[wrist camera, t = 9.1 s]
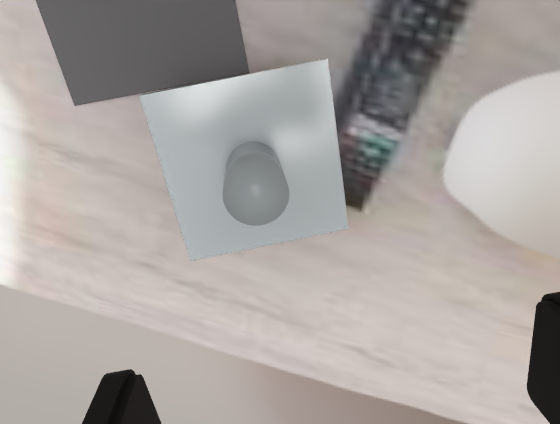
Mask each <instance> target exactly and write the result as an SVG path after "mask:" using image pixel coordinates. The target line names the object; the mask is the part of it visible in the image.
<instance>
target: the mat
mask: <svg viewBox="0 0 560 424" xmlns="http://www.w3.org/2000/svg"><path fill="white" fill-rule="evenodd" d="M36 2H37V5H38V8H39V10H40V13H41V16H42V18H43V21H44V24H45V27H46V29H47V32H48V35H49V37H50V40H51V43H52V46H53V48H54V51H55V54H56V56H57V59H58V62H59V64H60V67H61V70H62V73H63V75H64V78H65V81H66V83H67V86H68V89H69V92H70V94H71V97H72V100H73V102H74V105H75V106H76V105H81V104H87V103H92V102H97V101H102V100H108V99H113V98H118V97H124V96H129V95H134V94H139V93H145V92H150V91H155V90H161V89H166V88H171V87H176V86H182V85H187V84H192V83H198V82H203V81H208V80H214V79H219V78H224V77H229V76H235V75H240V74H245V73H249V71H248V65H247V60H246V55H245V50H244V45H243V39H242V34H241V29H240V24H239V19H238V13H237V8H236V3H235V0H36Z"/></svg>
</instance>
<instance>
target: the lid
mask: <svg viewBox="0 0 560 424" xmlns="http://www.w3.org/2000/svg"><path fill="white" fill-rule="evenodd" d="M139 97H140V100H141V103H142V107H143V110H144V113H145V116H146V120H147V123H148V126H149V129H150V132H151V136H152V139H153V142H154V145H155V149H156V152H157V155H158V158H159V162H160V165H161V168H162V171H163V174H164V178H165V181H166V184H167V187H168V191H169V194H170V197H171V200H172V204H173V207H174V210H175V213H176V216H177V220H178V223H179V226H180V229H181V233H182V236H183V239H184V242H185V245H186V249H187V252H188V255H189V258H190V261H193V260H198V259H203V258H208V257H213V256H218V255H223V254H228V253H233V252H238V251H242V250H247V249H252V248H257V247H262V246H267V245H272V244H277V243H282V242H287V241H292V240H296V239H301V238H306V237H311V236H316V235H321V234H326V233H331V232H336V231H341V230H346V229H349V227H348V219H347V211H346V203H345V195H344V187H343V178H342V170H341V162H340V154H339V146H338V138H337V129H336V121H335V113H334V105H333V97H332V89H331V80H330V72H329V64H328V59H320V60H315V61H310V62H304V63H299V64H294V65H289V66H284V67H279V68H274V69H269V70H264V71H259V72H253V73H248V74H243V75H238V76H233V77H228V78H223V79H218V80H213V81H208V82H203V83H197V84H192V85H187V86H182V87H177V88H172V89H167V90H162V91H157V92H152V93H146V94H142V95H140V96H139Z"/></svg>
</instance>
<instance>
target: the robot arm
mask: <svg viewBox="0 0 560 424" xmlns="http://www.w3.org/2000/svg"><path fill="white" fill-rule="evenodd" d="M527 390H528V394H529V396H530V398H531V400H532V401H533V403H534V404H535V406H536V407H537V408H538V409H539V410H540V412H541V413H542V414H543V415H544V417H545V418H546V419H547V420H548V422H549V423H550V424H560V292H556V293H550V294H546V295H544V296H543V297H542V300H541V302H539V303H538V304H537V306H536V313H535V321H534V330H533V338H532V347H531V355H530V364H529V372H528V381H527ZM82 424H161V421H160V419H159V417H158V414H157V411H156V409H155V406H154V404H153V401H152V399H151V396H150V394H149V391H148V388H147V386H146V384H145V381H144V378H143V377H142V375H136V374H135V372H134V371H133V370H124V371H118V372H113V373H107V374H106V375H104V376H103V378H102V380H101V382H100V384H99V386H98V389H97V391H96V394H95V396H94V398H93V400H92V402H91V405H90V407H89V409H88V411H87V413H86V416H85V418H84V421H83V423H82Z"/></svg>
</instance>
